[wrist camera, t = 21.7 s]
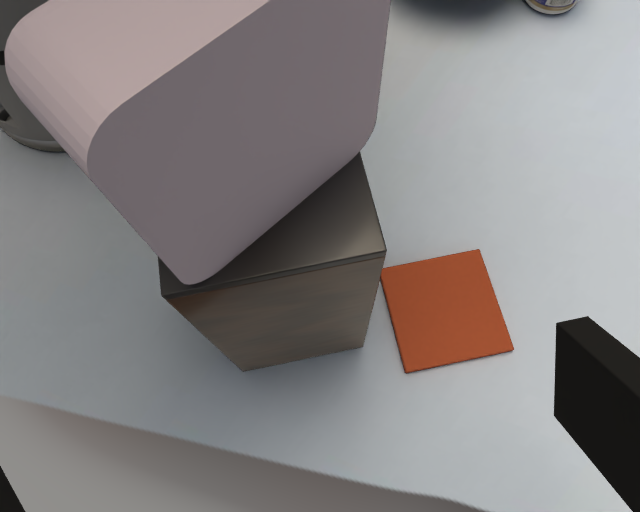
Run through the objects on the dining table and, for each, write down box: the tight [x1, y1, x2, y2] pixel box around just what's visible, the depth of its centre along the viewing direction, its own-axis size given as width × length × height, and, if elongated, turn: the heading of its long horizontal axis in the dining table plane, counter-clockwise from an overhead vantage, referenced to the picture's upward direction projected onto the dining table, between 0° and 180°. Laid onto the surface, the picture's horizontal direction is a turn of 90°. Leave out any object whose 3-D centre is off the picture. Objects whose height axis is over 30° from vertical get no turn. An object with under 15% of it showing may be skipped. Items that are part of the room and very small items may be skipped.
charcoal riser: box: [158, 151, 387, 372], centre depth 30 cm, size 9×9×19 cm
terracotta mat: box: [380, 249, 514, 373], centre depth 38 cm, size 8×8×1 cm
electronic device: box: [4, 0, 391, 285], centre depth 17 cm, size 10×5×10 cm, turn 133°
